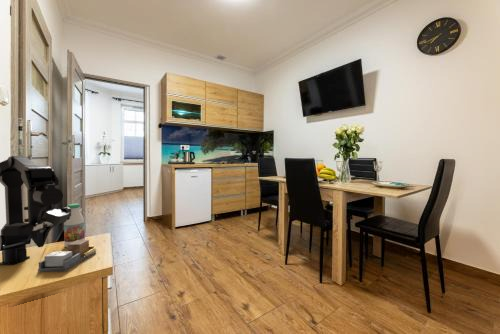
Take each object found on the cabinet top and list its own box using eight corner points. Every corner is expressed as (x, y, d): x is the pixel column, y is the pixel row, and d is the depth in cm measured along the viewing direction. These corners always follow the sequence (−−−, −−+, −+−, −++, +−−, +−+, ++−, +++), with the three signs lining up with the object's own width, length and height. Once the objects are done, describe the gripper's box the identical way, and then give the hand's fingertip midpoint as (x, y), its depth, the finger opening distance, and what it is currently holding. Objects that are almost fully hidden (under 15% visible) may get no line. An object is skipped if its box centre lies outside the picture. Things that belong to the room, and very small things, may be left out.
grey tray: (38, 272, 78) (37, 262, 78) (73, 252, 95) (73, 245, 95) (65, 271, 79) (65, 262, 79) (96, 252, 95) (96, 244, 95)
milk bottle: (61, 245, 103) (60, 204, 102) (81, 240, 109) (80, 202, 109) (68, 249, 99) (67, 206, 98) (87, 243, 105) (86, 203, 105)
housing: (68, 256, 89) (67, 244, 89) (77, 251, 94) (77, 240, 94) (80, 256, 89) (79, 244, 89) (89, 251, 94) (88, 239, 94)
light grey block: (44, 266, 79) (44, 256, 79) (57, 260, 85) (56, 250, 84) (63, 266, 80) (63, 255, 79) (74, 259, 85) (74, 250, 85)
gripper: (36, 208, 65) (38, 258, 65) (83, 197, 83) (84, 237, 84) (-1, 208, 64) (1, 259, 65) (54, 198, 83) (55, 237, 83)
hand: (40, 246), depth 74 cm, fingers closed
